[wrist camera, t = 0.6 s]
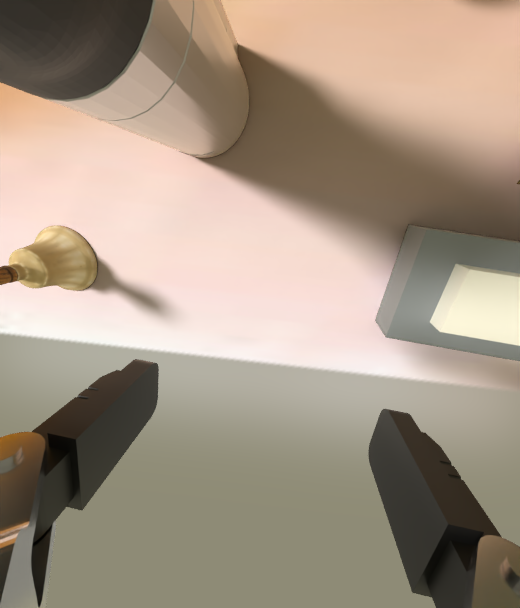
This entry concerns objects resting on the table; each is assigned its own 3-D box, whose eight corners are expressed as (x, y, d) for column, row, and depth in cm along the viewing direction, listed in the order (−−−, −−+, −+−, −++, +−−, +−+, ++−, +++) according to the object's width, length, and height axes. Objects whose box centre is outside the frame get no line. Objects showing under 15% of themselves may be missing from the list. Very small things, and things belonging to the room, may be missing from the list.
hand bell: (24, 233, 32) (-200, 263, 18) (79, 218, 31) (-119, 239, 16) (57, 294, 35) (-113, 363, 21) (108, 284, 34) (-37, 352, 19)
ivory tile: (455, 263, 23) (469, 269, 21) (562, 280, 23) (585, 287, 21) (429, 322, 26) (439, 331, 24) (525, 338, 25) (543, 349, 23)
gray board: (408, 224, 26) (426, 229, 23) (555, 246, 25) (598, 254, 22) (375, 320, 31) (385, 337, 27) (498, 342, 30) (527, 362, 26)
